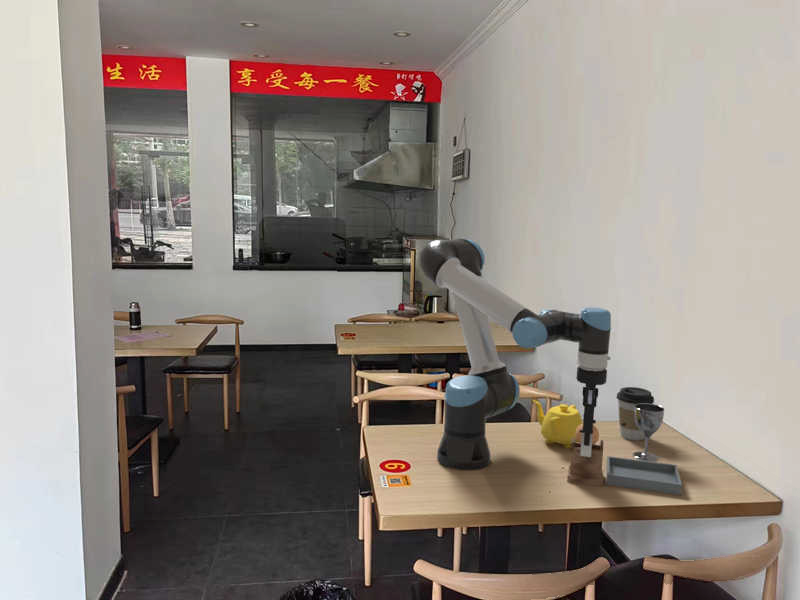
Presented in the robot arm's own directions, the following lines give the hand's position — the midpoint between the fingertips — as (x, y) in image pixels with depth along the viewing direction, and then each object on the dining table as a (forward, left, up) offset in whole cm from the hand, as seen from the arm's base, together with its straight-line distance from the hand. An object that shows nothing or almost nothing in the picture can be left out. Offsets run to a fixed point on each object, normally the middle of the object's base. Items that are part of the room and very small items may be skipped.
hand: (585, 451), depth 166 cm
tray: (+15, +4, -8) cm, 17 cm away
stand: (0, 0, -8) cm, 8 cm away
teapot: (-9, +26, -8) cm, 29 cm away
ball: (0, 0, +2) cm, 2 cm away
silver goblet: (+17, +22, -8) cm, 29 cm away
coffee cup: (+14, +38, -8) cm, 41 cm away
